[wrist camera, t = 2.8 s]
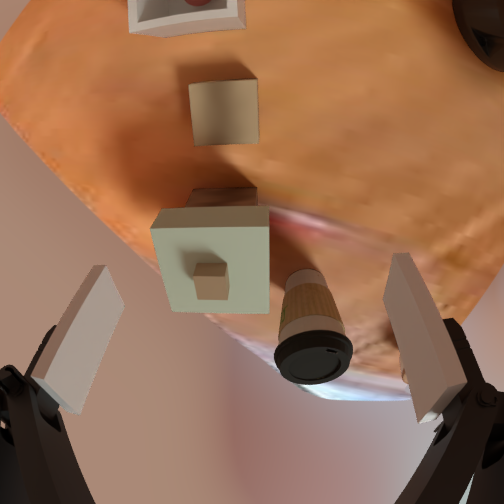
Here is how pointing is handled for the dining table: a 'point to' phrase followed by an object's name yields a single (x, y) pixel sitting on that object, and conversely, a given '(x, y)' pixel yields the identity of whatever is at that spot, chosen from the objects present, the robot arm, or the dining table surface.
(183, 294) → the lid
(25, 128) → the dining table surface
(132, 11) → the planter
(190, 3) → the ball
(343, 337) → the coffee cup
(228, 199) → the walnut box
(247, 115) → the oak stand
